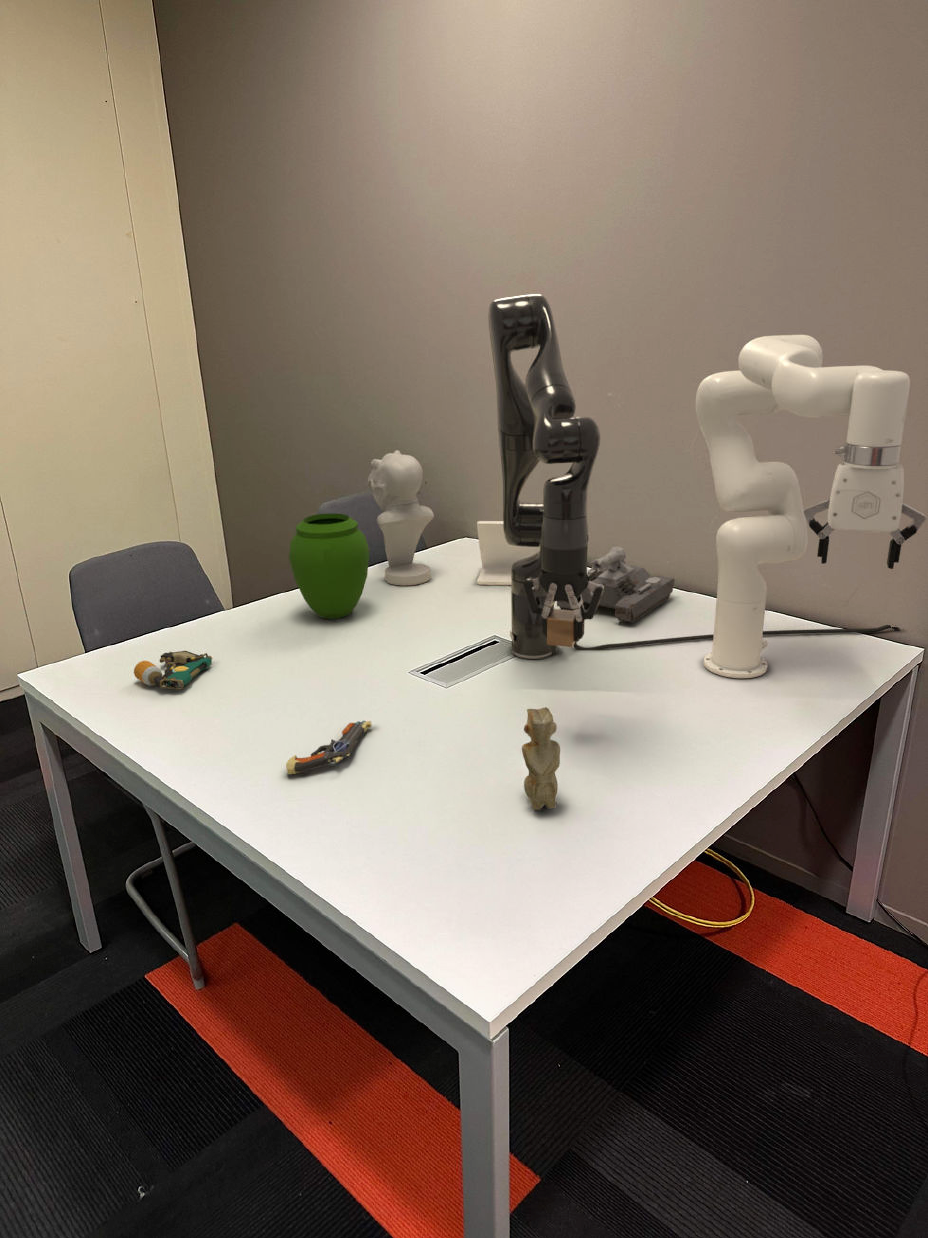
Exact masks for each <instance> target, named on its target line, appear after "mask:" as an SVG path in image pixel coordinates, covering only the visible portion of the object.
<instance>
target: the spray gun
mask: <svg viewBox="0 0 928 1238" xmlns="http://www.w3.org/2000/svg"><path fill="white" fill-rule="evenodd" d="M212 660H213V657H212V656H211V655H208V653H207V652H205V653H201V654H197V653H194V652H192V651H191V652H190V651H188V650H180V651H169V652H164V653H162V654H161V655H160V658H159V660H158V662H159V663H161V664H163V663H165V664H166V668H165V670H163V672H164V674H163V673H162V669H160V668H159V666H157V665H156V664H154V663H152V662H151V661H149V660H141V661H139V662H138V663H136V665H135V666H134V668H133V675H134V677H135V678H136V679H137V680H139V681H140V682H142V683H143V684H145V685H147V686H155V685H157V686H158V687H160V688H161V689H171V690H172V689H173V690H182V689H184V687H185V686H186V685H188V684H189V683H190V682H191V681H192V679H193V678H195V677H196V676H197V675H198V674H200V673H201V672H202V671H203V670H206V669H208V668H209V667H210V666H211V665H212V662H213V661H212ZM178 663H179V664H181V665H179V666H176V665H177V664H178Z"/></svg>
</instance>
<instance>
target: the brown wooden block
mask: <svg viewBox="0 0 928 1238" xmlns="http://www.w3.org/2000/svg"><path fill="white" fill-rule="evenodd" d="M575 620H576V619H575V616H574V612H573V611H571V610H561V609H560V608H554V611H553V612H552V614H551V615H550V616H549V617H548V619H547V645H554V646H557V647H564V648H574V646H573V645H574V644H575V642H574V622H575Z"/></svg>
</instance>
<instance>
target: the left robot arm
mask: <svg viewBox="0 0 928 1238" xmlns="http://www.w3.org/2000/svg"><path fill="white" fill-rule="evenodd" d="M552 311H553V310H552V309H551V306H550V304H549V301H548V299H547V298H546V297H545V296H544V295H543V294H540V293H530V294H524V295H516V296H510V297H503V298H497V299H494V300H492V301H491V303H490V304H489V308H488V331H489V339H490V340H489V341H490V345H491V347H490V348H491V353H492V355H491V356H492V362H493V371H494V379H495V389H496V409H497V410H496V412H497V432H498V444H499V452H500V462H501V463H500V465H501V474H502V475H501V476H502V521H503V528H504V536H505V540H506V542H507V543H508V544H509V545H511V546H518V547H539V551H538V552H537V553H536V554H534V555H532V556H530V557H527V558H524V559H521V560H518V561H516V562H515V563H513V565H512V567H511V585H510V588H511V589H510V597H511V599H510V603H511V604H510V606H511V607H510V609H511V610H510V615H511V617H510V618H511V621H510V622H511V630H509V637H510V639H511V643H510V644H511V647H510V651H511V653H512V655H513V656H515V657H518V658H521V659H525V660H526V659H527V660H540V659H545V658H548V657H550V656H552V655H557V654H558V653H557V650H558V649H557V648H558V646H554V645H547V619H548V617H549V616H550V615H551V614H552V612H553V611H554V610H555V603H557V601H565V602H570V606H571V609H572V610H573V612H574V616H575V619H576V620H575V622H574V642H575V644H574V645H573V648H574V649H576V650H578V651H601V650H607V649H618V648H628V647H629V648H630V647H636V646H637V647H638V646H646V645H647V646H648V645H656V644H658V645H659V644H667V643H676V642H677V643H679V642H686V641H687V642H688V641H689V642H690V641H699V640H710V639H711V640H713V637H714V633H713V634H701V635H691V636H690V635H689V636H681V637H669V638H660V639H659V638H657V639H650V640H637V641H629V642H620V643H619V642H618V643H606V644H600V645H596V646H591V647H584V646H581V645H578V644H577V643H579V641H580V640H581V639H582V638H583V637H584V635H585V621H586V620H590V621H591V620H593V618H594V616H596V613H597V611H598V609H599V607H600V606H599V603H600V600H601V597H602V595H603V592H604V589H605V585H604V584H603V583H599V584H597V583H594V582H592V581H590V579H589V577H588V575H587V574H588V547H589V525H588V515H587V514H588V511H587V510H588V491H589V485H590V482H591V481H590V480H591V476H592V473H593V469H594V466H595V463H596V460H597V457H598V454H599V449H600V445H601V431H600V428H599V426H598V424H597V422H596V421H595V420H594V419H593V418H592V417H589V416H574V415H576V414H575V413H576V410H577V409H576V408H577V403H576V400H575V397H574V395H573V392H572V390H571V387H570V384H569V381H568V379H567V376H566V374H565V371H564V370H565V369H564V366H563V361H562V355H561V349H560V345H559V340H558V339H559V338H558V335H557V329H556V324H555V321H554V316H553V312H552ZM537 348H539V349H538V352H537V354H536V355H535V358H534V359H533V361H532V363H531V365H530V366H529V368H528V371H527V374H526V377H525V383H524V382H523V381H522V379H521V377H520V376H519V374H518V372H517V371H516V368H515V367H514V364H513V362H512V353H514V352H520V351H524V350H525V351H527V350H533V349H537ZM541 462H542V463H543V464H546V465H548V464H549V465H557V464H571V466H570V468H569V469H568V471H567V472H565V473H563V474H561V475H557V476H554V477H551V478H549V479H548V480H546V481H545V482H544V484H543V490H542V491H543V493H542V495H543V497H542V498H543V501H542V502H521V501H520V495H521V492H522V489H523V488H524V486H525V484H526V482H527V480H528V479H529V478H530V475H531V474H532V473H533V472H534V470H535V469H536V467H537V466H538V464H539V463H541ZM587 587H588V588H589V590H590V592H589V593H590V595H591V596H593V597H592V599H591V602H590V604H588V608H587V609H585V606H583V599H582V596H581V594H582V592H583V591H584V590H585V589H586V588H587ZM888 629H892V630H894V631H896V632H901V629H900V628H899V627H898V626H897V627H892V628H891V626H890V625H888V624H885V625H882V626H878V627H871V628H869V627H868V628H824V629H823V628H819V629H817V628H816V629H815V628H813V629H782V630H763V635H762V636H775V635H776V636H777V635H804V634H807V635H809V634H812V635H813V634H864V633H865V634H866V633H878V632H882V631H886V630H888Z"/></svg>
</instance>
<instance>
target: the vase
mask: <svg viewBox="0 0 928 1238" xmlns="http://www.w3.org/2000/svg"><path fill="white" fill-rule="evenodd" d="M358 524H359V523H358V521H356V520H355V519H353V518H352V517H350V516H349V515H347V514H344V513H335V512H334V513H333V512H331V513H320V514H313V515H310V516H307V517H305V518H303V519H302V520H301V521H300V522H299V523H298V524H297V525H296V526H295V532H296V533H295V534H294V536H293V537H292V538H291V540H290V542H289V551H288V559H289V564H290V566H291V567H290V568H291V570H292V575H293V578H294V581H295V584H296V586H297V587H298V589H299V591H300V593H301V596H302V597H303V600H304V601H305V603H306V604H307V605H308V607H309V608H310V609H311V611H312V612H314V613H315V614H316V615H317V616H318V617H320V618H324V619H326V620H327V619H329V620H336V619H341V618H345V617H347V616H349V615H350V614H351V613H352V612H353V611H354V610H355V608H356V607H357V605H358V604H359V601H360V599H361V597H362V595H363V592H364V588H365V586H366V581H367V578H368V570H369V561H370V560H369V559H370V548H369V545H368V541H367V537H366V535H365V534H364V533H363V532H362V531H361V530H360V529H359V527H358Z"/></svg>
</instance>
